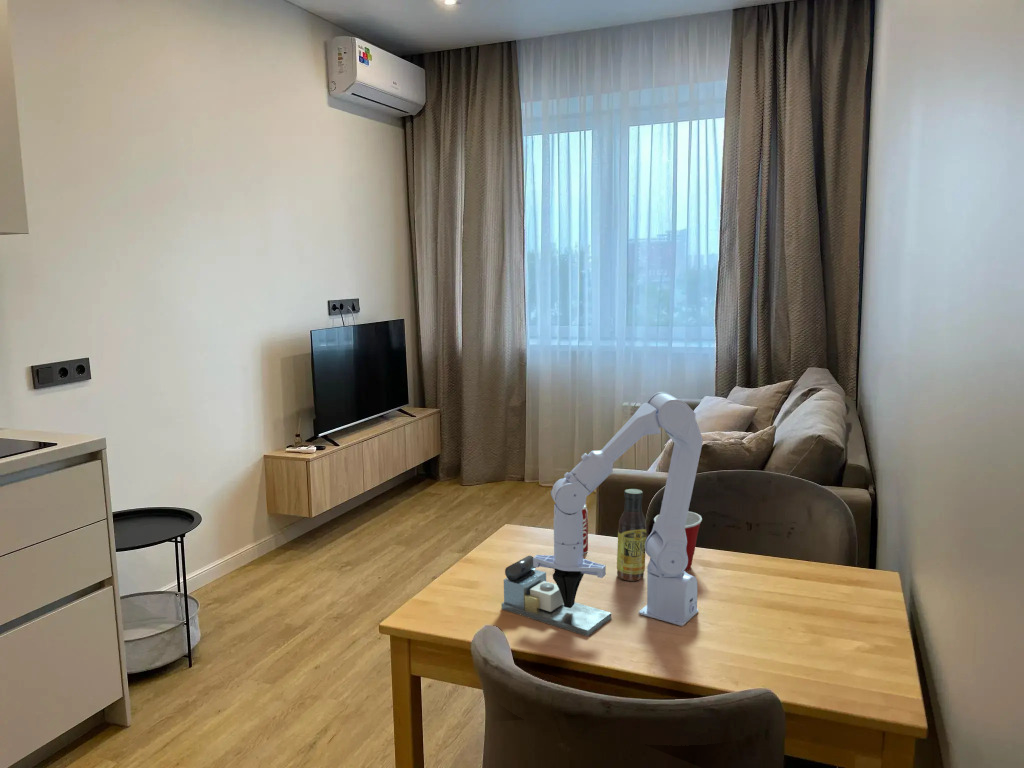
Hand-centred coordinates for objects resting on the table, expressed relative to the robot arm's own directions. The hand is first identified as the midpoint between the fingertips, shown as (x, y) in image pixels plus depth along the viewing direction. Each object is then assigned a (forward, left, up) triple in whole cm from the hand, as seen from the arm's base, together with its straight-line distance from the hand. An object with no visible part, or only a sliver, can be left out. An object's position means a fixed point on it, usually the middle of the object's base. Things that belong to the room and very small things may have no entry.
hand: (569, 605), depth 149 cm
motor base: (+4, 0, -2) cm, 5 cm away
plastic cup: (-6, -36, -3) cm, 37 cm away
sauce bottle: (0, -25, -3) cm, 25 cm away
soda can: (+18, -31, -3) cm, 36 cm away
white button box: (+5, 0, -1) cm, 5 cm away
